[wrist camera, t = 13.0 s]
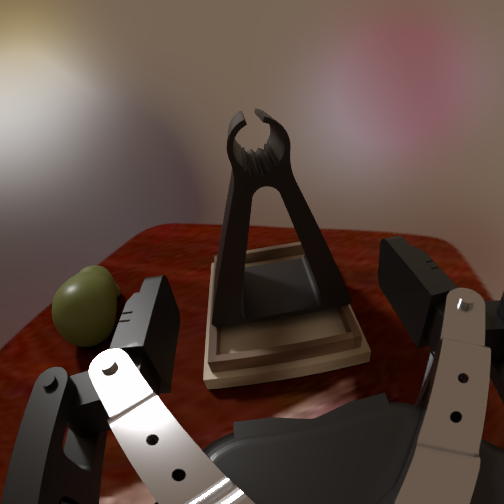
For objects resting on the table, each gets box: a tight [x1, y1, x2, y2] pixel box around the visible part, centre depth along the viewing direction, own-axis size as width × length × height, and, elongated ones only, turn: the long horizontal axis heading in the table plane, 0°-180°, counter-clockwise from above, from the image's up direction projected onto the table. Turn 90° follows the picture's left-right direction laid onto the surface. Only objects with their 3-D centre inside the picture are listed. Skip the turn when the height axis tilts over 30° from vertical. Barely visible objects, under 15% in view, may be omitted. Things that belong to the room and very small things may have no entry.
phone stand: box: [212, 109, 352, 327], centre depth 19 cm, size 9×6×12 cm, turn 93°
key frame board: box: [203, 242, 371, 389], centre depth 23 cm, size 10×13×2 cm
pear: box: [52, 266, 121, 347], centre depth 24 cm, size 6×5×10 cm
